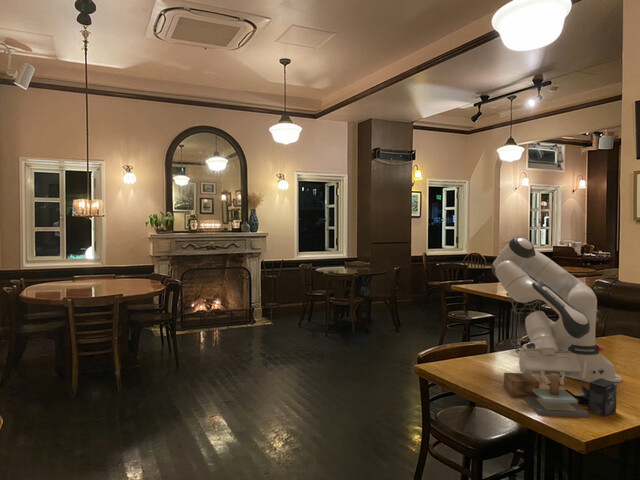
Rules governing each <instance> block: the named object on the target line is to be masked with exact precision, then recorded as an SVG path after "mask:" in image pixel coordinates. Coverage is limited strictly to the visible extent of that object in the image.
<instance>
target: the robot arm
mask: <svg viewBox="0 0 640 480" xmlns="http://www.w3.org/2000/svg"><path fill="white" fill-rule="evenodd" d="M490 268H491V272H492V274H493V275H494V277H496V278H497V279H498V281H499V283H500V284H501V286H502V287H503V289H504V290H505V292H506V293H508V294H509V295H510V296H511V297H512V298H511V299H512V300H513V299H514V300H513V301H516V303H517V302H518V303H522V304H523V303H526V304H527V303H529V302H530V303H531V301H532V302H533V301H534V302H535V301H537V299H538V300H539V299H540V300H543V301H542V302H544V303H545V304H547V306H549V307H550V308H551V309H552V310H553V311H555V313H556V314H557V315H558V319H557V320H555V321H553V320H552V319H550V318H548V316H547V315H546V313H545V312H544V311H542V310H540V311H539V310H537V311H535V312H534V311H533V312H532V313H531V312H529V313H528V315H527V316H526V317H525V321H524V322H525V323H524V324H525V329H526V334H527V337H528V339H529V340H530V341H529V342H528V343H524V344H523V345H521V346H522V348H520V349H519V350H520V351H519V353H518V354H519V359H518V365H519V370H520V373H523V374H531V375H539V378H540V379H541V380H543V382H544V384H545V386H550V384H551V381H550V378H548V377H547V375H549V376H550V373H556V374H559V387H564V385H565V381H564V379H565V377H567V378H571V379H573V380H579V381H582V382H586V383H589V382H590V381H594V380H597V379H600V378H602V379H605V380H609V381H613V382H616V383H622V381H623V380H622V377H621V376H620V375H619V374H617V373H616V369H615V366H614V364H613V363H612V361H610V360H609V359H608V358H606V357H605V356H604V355H603V354H601V353H604V352H605V350H606V349H605V347H603V346H601V345H600V346H599V345H598V344H597V343H596V324H597V312H598V311H597V310H598V309H597V308H598V299H597V296H596V293H595V292H594V291H593V288H591V287H589V286H588V285H587V284H585V282H583V281H582V280H580V279H578V278H577V277H576V276H574V275H573V274H571V272H570V273H569V272H568V271H567V270H566V269H564V268H563V267H562V266H560V265H559V264H557V263H556V262H555V261H553V260H552V259H551V258H549V257H548V256H546V255H544V253H541V252H539V251H538V250H536V249H535V247H534V244H533V243H532V241H530V240H529V239H527V238H526V237H524V236H515V237H513V238H512V239H511V240H509V242H508V243H507V244H506V245H505V246H504V247H503V248H502V249H501V250H500V251H499V253H498V255H497V257H496V258H495V259H494V261H493V262H492V264H491V267H490ZM600 352H601V353H600Z"/></svg>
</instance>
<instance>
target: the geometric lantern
mask: <svg viewBox="0 0 640 480" xmlns="http://www.w3.org/2000/svg"><path fill="white" fill-rule="evenodd" d="M505 295H506V297H507V298H508V300H509V301H508V302H509V303H511V306H512V308H511V309H510V311H511V313H510V315H511V316H510V332H509V343H510V344H511V345H512V346H513V347H514V351H515V350H517V351H515V352H516V353H517V354H519V353H520V350H521V348H522V346H523V345H521V344H522V342H530V339H529V340H528V339H527V340H525V339H523V340H521V339H522V337H521V313H522V311H523V310H524V309H525V307H526V306H528V307H529V308H528V310H530V313H532V311H533V312H535V311H541V309H540V308H541V304H542V302H544V301H543V300H540V299H536V300H534V302H533V301H530V303H529V302H526V303H522V304H523V305H524V306H523V307H522V308H521V309H520V310H519V312H517V306H518V303H519V302H517V301H516V303H515V305H514V301H515V300H514V299H513V298H512V297H511V296H510V295H509V294H508V293H507V292H506V293H505ZM534 304H535V305H534ZM538 304H539V307H538V308H539V309H538V310H537V309H536V307H537V306H538ZM531 306H532V307H531ZM517 318H518V319H517ZM517 321H518V334H519V335H518V336H519V337H518V338H519V339H518V340H517ZM516 342H519V346H517V343H516ZM518 351H519V352H518Z"/></svg>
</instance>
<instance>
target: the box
mask: <svg viewBox="0 0 640 480" xmlns="http://www.w3.org/2000/svg"><path fill="white" fill-rule="evenodd" d="M588 383H589V385H588V386H589V387H588V389H589V403H588V410H587V412H588V413H589V412H590V413H592V414H595V415H599V416H601V417H606V416H608V415H612V414H613V413H617V391H618V389H617V387H618V382H613V381H609V380H605V379H602V378H600V379H597V380H594V381H590V382H588Z"/></svg>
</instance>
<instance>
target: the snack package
mask: <svg viewBox="0 0 640 480" xmlns="http://www.w3.org/2000/svg"><path fill="white" fill-rule="evenodd" d="M576 388H577V387H576ZM579 388H580V391H581V392H582V394H574V393H573V392H571V391H570V390H568V389H564V390H565V391H567V392H568V393H569V394H570V395H572V396H573V397H574V398H575V399H577V400H578V402H580V403H585V404H589V388H587V387H585V386H583V385H582V384H581V385H580V387H579ZM580 391H578V393H580Z"/></svg>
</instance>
